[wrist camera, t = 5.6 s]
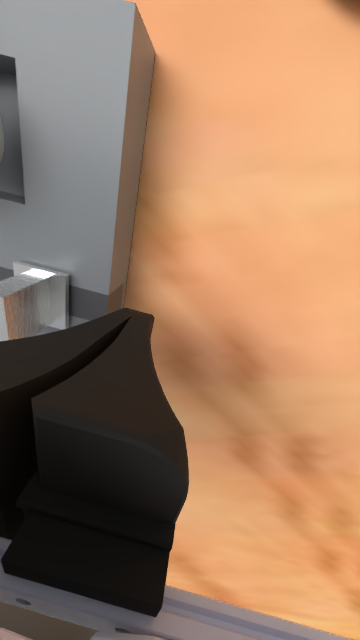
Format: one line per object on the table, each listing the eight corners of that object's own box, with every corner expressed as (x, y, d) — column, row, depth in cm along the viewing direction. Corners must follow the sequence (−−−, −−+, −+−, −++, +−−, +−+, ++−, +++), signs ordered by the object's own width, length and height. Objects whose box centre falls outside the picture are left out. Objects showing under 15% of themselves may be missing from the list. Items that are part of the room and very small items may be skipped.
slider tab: (68, 327, 12) (28, 362, 9) (22, 315, 12) (-31, 346, 9) (69, 274, 11) (22, 297, 8) (17, 260, 11) (-46, 279, 8)
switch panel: (110, 412, 18) (95, 442, 16) (-39, 371, 18) (-74, 394, 16) (155, 52, 9) (135, 2, 7) (-142, -20, 9) (-254, -90, 7)
